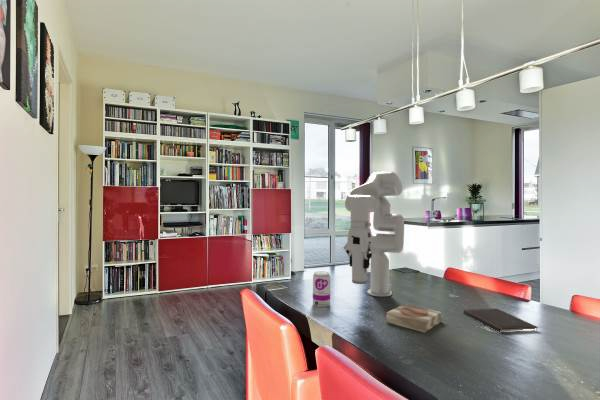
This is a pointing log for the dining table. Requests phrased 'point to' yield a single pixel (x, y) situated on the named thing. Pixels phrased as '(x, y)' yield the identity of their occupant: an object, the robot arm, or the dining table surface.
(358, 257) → the travel mug
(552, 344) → the dining table surface
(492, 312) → the hardcover book
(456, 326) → the dining table surface
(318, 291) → the supplement can
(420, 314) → the cream panel copper ring
